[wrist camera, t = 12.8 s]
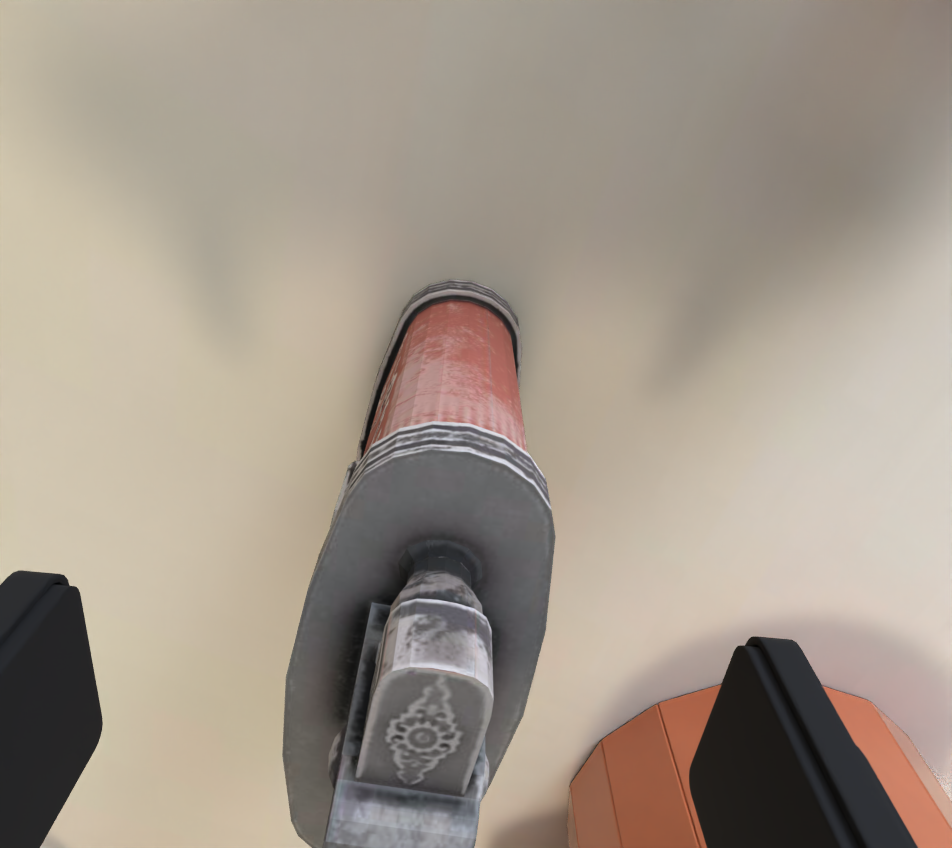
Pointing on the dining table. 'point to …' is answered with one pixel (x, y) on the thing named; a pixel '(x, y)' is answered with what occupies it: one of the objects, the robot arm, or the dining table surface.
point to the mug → (668, 763)
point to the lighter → (423, 591)
